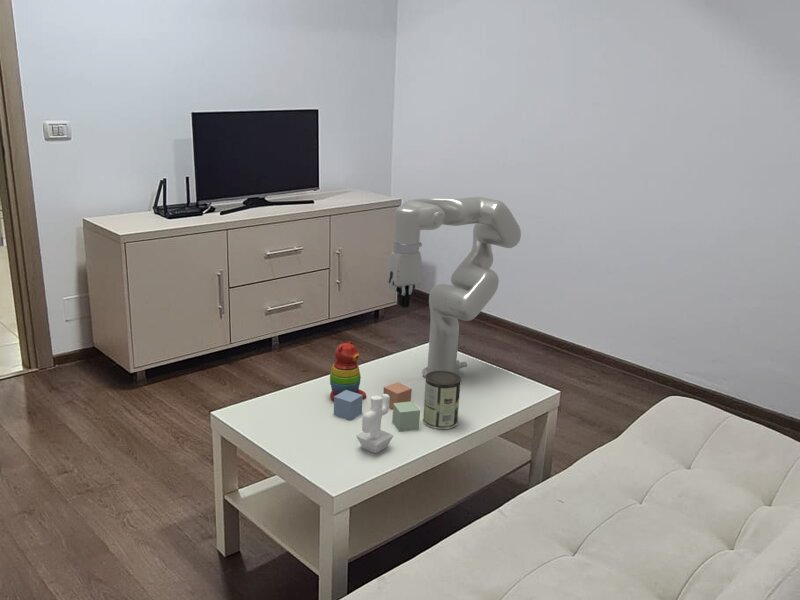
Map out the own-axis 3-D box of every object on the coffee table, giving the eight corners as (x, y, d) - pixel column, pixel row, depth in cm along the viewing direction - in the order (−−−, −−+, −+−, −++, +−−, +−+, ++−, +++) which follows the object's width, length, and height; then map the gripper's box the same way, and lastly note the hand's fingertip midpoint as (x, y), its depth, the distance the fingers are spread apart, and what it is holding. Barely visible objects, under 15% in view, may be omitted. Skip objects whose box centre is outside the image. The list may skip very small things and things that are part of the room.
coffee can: (439, 410, 224) (442, 367, 220) (464, 423, 217) (468, 378, 213) (415, 420, 217) (417, 375, 213) (440, 433, 210) (444, 387, 206)
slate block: (345, 408, 222) (345, 389, 221) (361, 413, 220) (362, 395, 218) (333, 415, 217) (334, 396, 216) (350, 421, 215) (351, 402, 213)
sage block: (411, 419, 217) (412, 401, 215) (418, 429, 212) (420, 410, 210) (392, 422, 215) (393, 403, 213) (399, 431, 210) (400, 412, 208)
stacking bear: (346, 408, 222) (348, 353, 217) (321, 398, 228) (322, 344, 222) (369, 397, 230) (371, 343, 225) (344, 387, 236) (346, 335, 231)
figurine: (352, 449, 199) (354, 398, 194) (375, 437, 206) (377, 387, 201) (373, 458, 194) (376, 406, 190) (395, 445, 202) (398, 395, 197)
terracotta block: (396, 399, 230) (397, 382, 228) (410, 406, 226) (411, 388, 224) (382, 405, 226) (383, 387, 224) (396, 412, 222) (397, 393, 220)
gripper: (419, 242, 228) (416, 299, 233) (378, 247, 219) (376, 306, 225) (434, 248, 222) (430, 306, 228) (392, 253, 214) (390, 313, 219)
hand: (403, 306), depth 226 cm, fingers closed
